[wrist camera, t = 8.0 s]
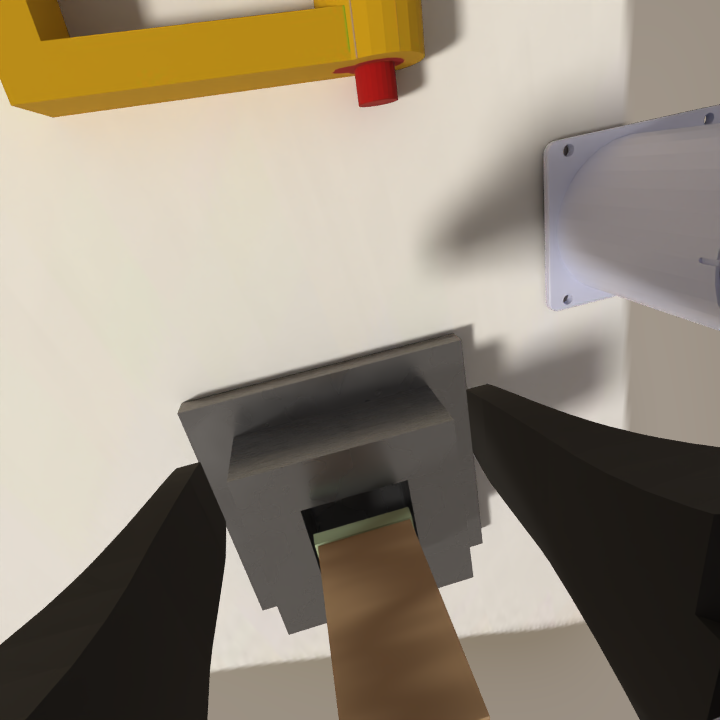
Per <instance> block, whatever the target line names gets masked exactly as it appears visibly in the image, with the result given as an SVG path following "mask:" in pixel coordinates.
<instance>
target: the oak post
mask: <svg viewBox="0 0 720 720" xmlns="http://www.w3.org/2000/svg"><path fill="white" fill-rule="evenodd" d="M313 535H314V543H315V548H316V551H317V554H318V557H319V561H320V570H321V578H322V586H323V594H324V602H325V610H326V618H327V626H328V635H329V643H330V651H331V659H332V667H333V675H334V683H335V691H336V699H337V708H338V716H339V720H490V716H489V713H488V711H487V709H486V706H485V703H484V701H483V698H482V696H481V694H480V691H479V688H478V686H477V683H476V681H475V679H474V676H473V674H472V671H471V669H470V666H469V664H468V661H467V659H466V656H465V654H464V651H463V649H462V646H461V644H460V641H459V639H458V636H457V634H456V632H455V629H454V627H453V624H452V622H451V619H450V617H449V614H448V612H447V609H446V607H445V604H444V602H443V599H442V597H441V594H440V592H439V589H438V587H437V585H436V582H435V580H434V577H433V575H432V572H431V570H430V567H429V565H428V562H427V560H426V557H425V555H424V552H423V550H422V547H421V545H420V543H419V540H418V538H417V535H416V533H415V530H414V525H413V520H412V516H411V513H410V511H409V508H408V507H406V508H402V509H399V510H395V511H392V512H388V513H385V514H382V515H378V516H375V517H371V518H368V519H365V520H361V521H358V522H354V523H351V524H347V525H344V526H341V527H337V528H334V529H330V530H327V531H324V532H320V533H317V534H313Z"/></svg>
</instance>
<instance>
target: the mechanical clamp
mask: <svg viewBox="0 0 720 720" xmlns="http://www.w3.org/2000/svg"><path fill="white" fill-rule="evenodd" d="M314 7H315V9H308V10H300V11H291V12H283V13H274V14H266V15H257V16H249V17H241V18H232V19H224V20H215V21H207V22H198V23H190V24H182V25H173V26H165V27H156V28H148V29H139V30H131V31H122V32H114V33H106V34H97V35H89V36H80V37H72V38H70V36H69V34H68V31H67V28H66V25H65V22H64V19H63V16H62V13H61V10H60V8H59V5H58V2H57V0H0V80H1V82H2V85H3V87H4V89H5V92H6V94H7V97H8V99H9V102H10V104H11V106H15V107H18V108H22V109H26V110H29V111H33V112H36V113H40V114H43V115H47V116H50V117H59V116H67V115H74V114H81V113H88V112H96V111H103V110H110V109H117V108H125V107H132V106H139V105H146V104H154V103H161V102H168V101H175V100H183V99H190V98H197V97H204V96H212V95H219V94H226V93H233V92H241V91H248V90H255V89H262V88H270V87H277V86H284V85H291V84H299V83H306V82H313V81H320V80H328V79H335V78H342V77H349V76H355V79H356V86H357V94H358V102H359V107H371V106H378V105H383V104H388V103H391V102H395V101H397V100H398V95H397V85H396V74H395V70H399V69H402V68H405V67H409V66H411V65H413V64H416V63H418V62H419V61H421V60H423V58H424V57H425V49H424V35H423V21H422V7H421V0H314Z"/></svg>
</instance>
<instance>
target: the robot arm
mask: <svg viewBox="0 0 720 720" xmlns="http://www.w3.org/2000/svg"><path fill="white" fill-rule="evenodd" d="M705 116H706V122H705V123H704V118H705ZM566 145H567V146H568V149H569V151H568V154H567V155H566V156H565V155H564V153H563V150H564V147H565V146H566ZM543 158H544V218H545V278H546V305H547V307H548V308H549V309H551V310H554V311H560V310H564V309H567V308H571V307H575V306H579V305H583V304H587V303H591V302H595V301H598V300H602V299H606V298H610V297H614V296H619V297H622V298H625V299H628V300H631V301H634V302H636V303H639V304H642V305H645V306H648V307H651V308H654V309H657V310H660V311H663V312H666V313H669V314H672V315H675V316H678V317H681V318H683V319H686V320H689V321H693V322H695V323H699V324H701V325H704V326H707V327H710V328H713V329H716V330H719V331H720V104H719V105H715V106H710V107H706V108H701V109H696V110H692V111H687V112H683V113H678V114H674V115H669V116H665V117H660V118H655V119H651V120H647V121H642V122H638V123H633V124H628V125H624V126H619V127H614V128H610V129H605V130H601V131H596V132H592V133H587V134H583V135H578V136H574V137H569V138H564V139H560V140H555V141H552V142H550V143H549V144H548V145H547V146H546V148H545V150H544V155H543ZM566 295H568V298H567V300H566V301H565V302H563V299H564V297H565V296H566ZM466 394H467V403H468V413H469V422H470V431H471V441H472V450H473V453H474V455H475V456H476V458H477V460H478V462H479V464H480V466H481V467H482V469H483V471H484V473H485V474H486V476H487V478H488V479H489V481H490V483H491V484H492V485H493V487H494V488H495V489H496V491H497V492H498V493H499V495H500V496H501V497H502V499H503V500H504V501H505V503H506V504H507V505H508V507H509V508H510V509H511V511H512V512H513V513H514V515H515V516H516V517H517V519H518V520H519V521H520V523H521V524H522V525H523V526H524V528H525V529H526V530H527V532H528V533H529V534H530V536H531V537H532V538H533V540H534V541H535V542H536V544H537V545H538V546H539V548H540V549H541V550H542V552H543V553H544V555H545V556H546V558H547V559H548V561H549V562H550V563H551V565H552V567H553V568H554V570H555V572H556V573H557V575H558V576H559V578H560V580H561V581H562V583H563V585H564V586H565V588H566V590H567V591H568V593H569V594H570V596H571V598H572V599H573V601H574V603H575V604H576V606H577V608H578V610H579V611H580V613H581V615H582V616H583V618H584V620H585V622H586V623H587V625H588V627H589V628H590V630H591V632H592V634H593V635H594V637H595V639H596V640H597V642H598V644H599V646H600V647H601V649H602V651H603V653H604V655H605V656H606V658H607V660H608V662H609V664H610V666H611V667H612V669H613V671H614V673H615V674H616V676H617V678H618V680H619V682H620V683H621V685H622V687H623V689H624V691H625V692H626V694H627V696H628V698H629V700H630V702H631V704H632V706H633V708H634V709H635V711H636V713H637V715H638V717H639V719H640V720H720V447H714V446H707V445H699V444H692V443H686V442H681V441H675V440H669V439H663V438H658V437H653V436H647V435H643V434H638V433H634V432H630V431H626V430H622V429H618V428H614V427H610V426H606V425H602V424H599V423H595V422H592V421H589V420H586V419H583V418H579V417H576V416H573V415H570V414H567V413H564V412H561V411H558V410H556V409H553V408H550V407H547V406H545V405H542V404H539V403H537V402H534V401H532V400H529V399H526V398H524V397H521V396H519V395H516V394H514V393H511V392H509V391H506V390H503V389H501V388H498V387H495V386H492V385H489V384H486V385H482V386H478V387H474V388H471V389H467V390H466ZM225 559H226V520H225V518H224V516H223V513H222V511H221V509H220V506H219V504H218V502H217V500H216V497H215V495H214V493H213V490H212V488H211V486H210V483H209V481H208V479H207V476H206V474H205V472H204V469H203V467H202V465H201V462H198V463H195V464H191V465H187V466H184V467H180V468H176V469H175V470H174V471H173V472H172V473H171V475H170V476H169V477H168V478H167V479H166V480H165V481H164V482H163V484H162V485H161V486H160V487H159V488H158V489H157V491H156V492H155V493H154V494H153V495H152V497H151V498H150V499H149V500H148V501H147V502H146V504H145V505H144V506H143V507H142V508H141V509H140V511H139V512H138V513H137V514H136V515H135V516H134V518H133V519H132V520H131V521H130V522H129V523H128V525H127V526H126V527H125V528H124V529H123V530H122V531H121V532H120V533H119V534H118V536H117V537H116V538H115V539H114V540H113V541H112V542H111V543H110V544H109V545H108V546H107V547H106V548H105V550H104V551H103V552H102V553H101V554H100V555H99V556H98V557H97V558H96V559H95V560H94V561H93V562H92V563H91V564H90V565H89V566H88V567H87V568H86V569H85V570H84V571H83V572H82V573H81V574H80V575H79V576H78V577H77V578H76V579H75V580H74V581H73V582H72V583H71V584H70V585H69V586H68V587H67V588H66V589H65V590H63V591H62V592H61V593H60V594H59V595H58V596H57V597H56V598H55V599H54V600H53V601H52V602H50V603H49V604H48V605H47V606H46V607H45V608H44V609H43V610H41V611H40V612H39V613H38V614H37V615H35V616H34V617H33V618H32V619H31V620H29V621H28V622H27V623H26V624H25V625H23V626H22V627H21V628H20V629H19V630H17V631H16V632H15V633H14V634H13V635H11V636H10V637H9V638H8V639H7V640H5V641H4V642H3V643H2V644H1V645H0V720H207V715H208V696H209V677H210V664H211V655H212V647H213V640H214V634H215V627H216V620H217V614H218V607H219V601H220V594H221V588H222V581H223V574H224V567H225Z"/></svg>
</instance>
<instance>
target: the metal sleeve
mask: <svg viewBox="0 0 720 720" xmlns="http://www.w3.org/2000/svg"><path fill="white" fill-rule="evenodd" d="M178 416H179V418H180V420H181V423H182V425H183V427H184V429H185V432H186V434H187V436H188V439H189V441H190V443H191V446H192V448H193V450H194V453H195V455H196V457H197V460H198V462H201V465H202V467H203V469H204V472H205V474H206V476H207V479H208V481H209V483H210V486H211V488H212V490H213V493H214V495H215V497H216V500H217V502H218V504H219V506H220V509H221V511H222V513H223V516H224V518H225V520H226V527H227V529H228V531H229V534H230V536H231V538H232V540H233V543H234V545H235V547H236V550H237V552H238V554H239V557H240V559H241V561H242V564H243V566H244V568H245V570H246V573H247V575H248V577H249V580H250V582H251V584H252V587H253V589H254V591H255V594H256V596H257V598H258V601H259V603H260V605H261V607H262V610H266V609H269V608H272V607H275V606H277V607H278V609H279V612H280V614H281V617H282V619H283V622H284V624H285V627H286V629H287V631H288V634H289V635H290V634H293V633H296V632H299V631H302V630H306V629H309V628H312V627H315V626H318V625H322V624H325V623H327V618H326V610H325V602H324V594H323V586H322V578H321V570H320V561H319V557H318V554H317V551H316V548H315V543H314V535H313V534H317V533H320V532H324V531H327V530H330V529H334V528H337V527H341V526H344V525H347V524H351V523H354V522H358V521H361V520H365V519H368V518H371V517H375V516H378V515H382V514H385V513H388V512H392V511H395V510H399V509H402V508H406V507H408V508H409V511H410V513H411V516H412V520H413V525H414V530H415V533H416V535H417V538H418V540H419V543H420V545H421V547H422V550H423V552H424V555H425V557H426V560H427V562H428V565H429V567H430V570H431V572H432V575H433V577H434V580H435V582H436V585H437V587H438V588H440V587H443V586H446V585H450V584H453V583H456V582H459V581H462V580H466V579H469V578H472V577H473V571H472V562H471V554H470V547H472V546H475V545H478V544H481V543H483V542H482V533H481V523H480V514H479V504H478V495H477V485H476V476H475V466H474V457H473V450H472V441H471V431H470V422H469V413H468V403H467V394H466V381H465V371H464V362H463V352H462V343H461V339H460V338H458V337H457V336H456V335H455V334H454V333H453V334H449V335H445V336H441V337H437V338H434V339H430V340H426V341H422V342H418V343H414V344H410V345H406V346H402V347H399V348H395V349H391V350H387V351H383V352H379V353H375V354H371V355H367V356H364V357H360V358H356V359H352V360H348V361H344V362H340V363H336V364H333V365H329V366H325V367H321V368H317V369H313V370H309V371H305V372H301V373H298V374H294V375H290V376H286V377H282V378H278V379H274V380H270V381H266V382H263V383H259V384H255V385H251V386H247V387H243V388H239V389H235V390H231V391H228V392H224V393H220V394H216V395H212V396H208V397H204V398H200V399H197V400H193V401H189V402H185V403H182V404H181V406H180V409H179V411H178Z"/></svg>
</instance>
